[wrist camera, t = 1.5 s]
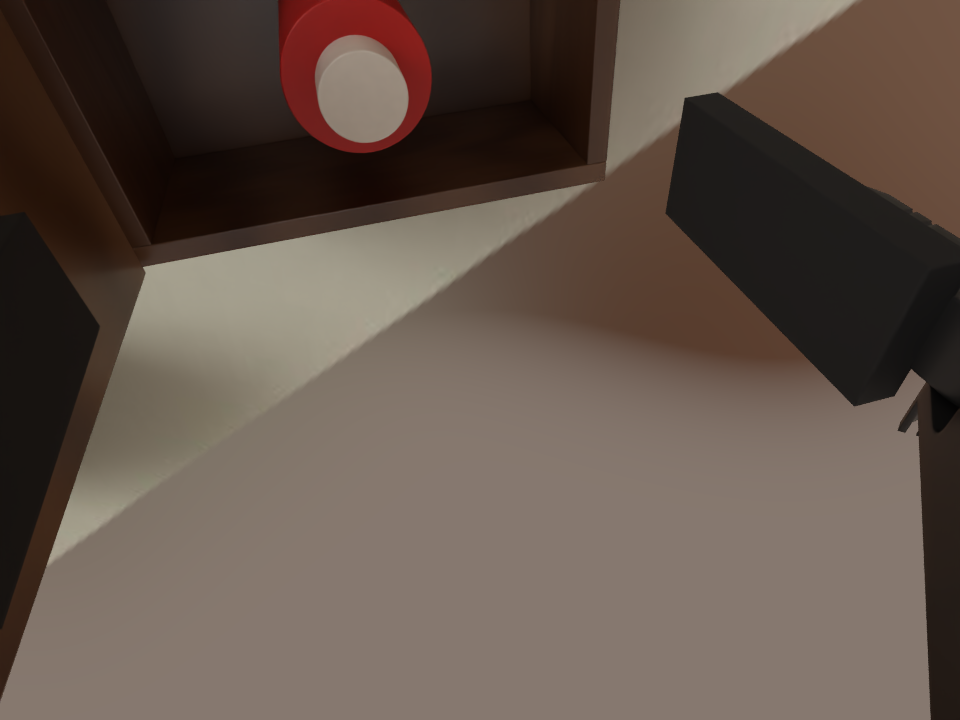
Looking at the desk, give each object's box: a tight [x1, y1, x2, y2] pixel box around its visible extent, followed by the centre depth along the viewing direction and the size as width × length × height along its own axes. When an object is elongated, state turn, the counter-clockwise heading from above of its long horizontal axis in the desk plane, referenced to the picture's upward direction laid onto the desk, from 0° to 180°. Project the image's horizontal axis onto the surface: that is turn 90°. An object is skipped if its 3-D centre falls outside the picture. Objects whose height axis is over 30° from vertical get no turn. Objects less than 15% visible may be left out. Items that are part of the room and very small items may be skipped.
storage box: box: [0, 0, 620, 267], centre depth 24 cm, size 20×13×9 cm
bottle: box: [278, 0, 432, 153], centre depth 22 cm, size 5×5×13 cm
